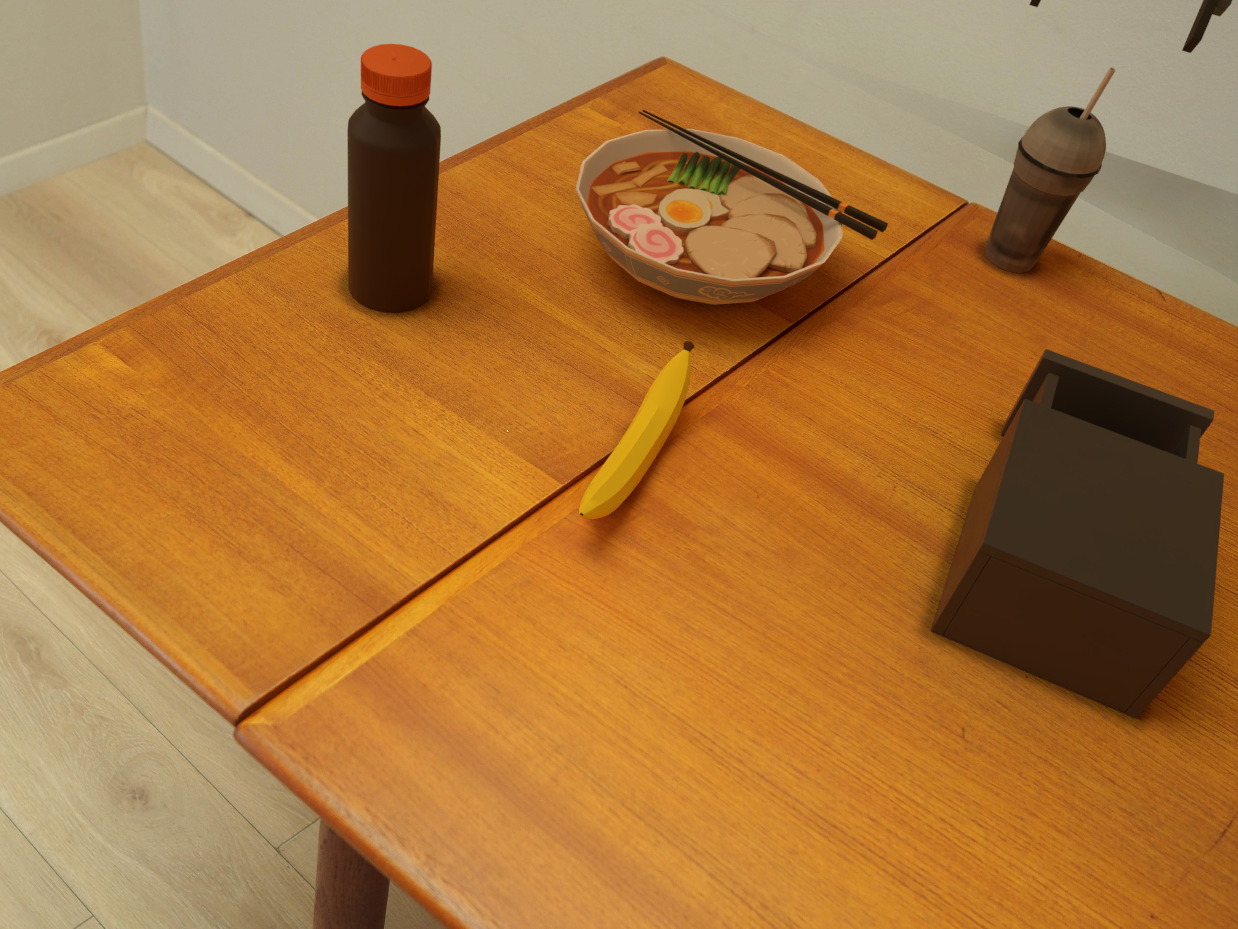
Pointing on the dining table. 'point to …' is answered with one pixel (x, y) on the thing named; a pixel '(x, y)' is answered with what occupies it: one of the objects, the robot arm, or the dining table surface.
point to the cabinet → (1086, 560)
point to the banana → (640, 439)
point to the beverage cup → (1046, 182)
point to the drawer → (1116, 405)
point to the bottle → (392, 181)
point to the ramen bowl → (711, 214)
